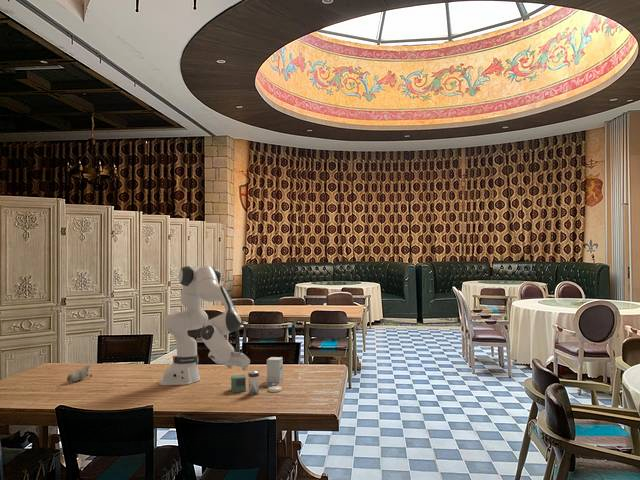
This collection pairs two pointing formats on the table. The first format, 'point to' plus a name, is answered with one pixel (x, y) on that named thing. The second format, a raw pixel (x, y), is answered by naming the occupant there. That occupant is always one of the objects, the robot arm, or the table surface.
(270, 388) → the cream dome cap
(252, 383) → the grey-lidded jar
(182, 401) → the table surface
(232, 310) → the robot arm
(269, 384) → the disc
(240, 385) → the block
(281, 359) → the supplement box
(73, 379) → the decorative bird
